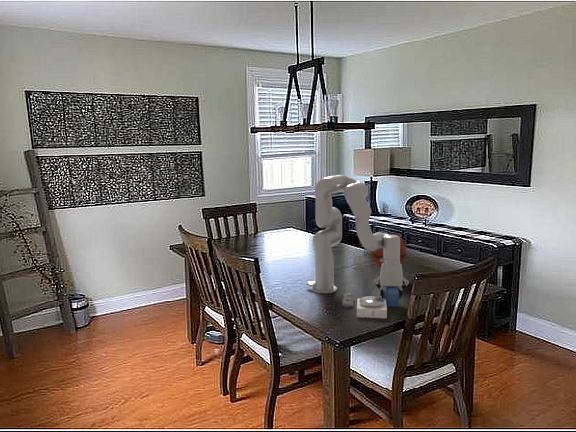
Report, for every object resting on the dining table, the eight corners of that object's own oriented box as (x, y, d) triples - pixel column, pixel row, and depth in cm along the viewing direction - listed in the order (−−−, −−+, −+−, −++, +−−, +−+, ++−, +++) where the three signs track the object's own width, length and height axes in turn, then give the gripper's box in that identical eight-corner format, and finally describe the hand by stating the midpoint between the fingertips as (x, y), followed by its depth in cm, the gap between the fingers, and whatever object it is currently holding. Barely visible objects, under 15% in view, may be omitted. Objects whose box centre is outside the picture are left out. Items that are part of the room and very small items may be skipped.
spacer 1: (343, 302, 226) (343, 296, 226) (343, 298, 231) (343, 292, 231) (353, 302, 225) (353, 296, 225) (353, 299, 230) (353, 293, 230)
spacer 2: (342, 307, 219) (342, 301, 219) (342, 303, 224) (342, 297, 224) (353, 308, 219) (353, 301, 218) (353, 304, 224) (353, 298, 223)
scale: (356, 317, 207) (356, 308, 206) (357, 306, 220) (357, 297, 219) (386, 319, 205) (386, 309, 204) (385, 307, 218) (385, 298, 217)
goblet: (412, 278, 259) (413, 234, 254) (391, 286, 246) (392, 240, 242) (384, 271, 273) (385, 229, 269) (363, 279, 261) (363, 235, 256)
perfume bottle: (395, 301, 225) (396, 277, 223) (399, 306, 219) (399, 281, 217) (382, 302, 225) (383, 278, 223) (385, 307, 219) (386, 282, 217)
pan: (359, 306, 208) (359, 304, 207) (359, 297, 218) (359, 295, 218) (384, 307, 206) (384, 305, 206) (383, 298, 216) (383, 296, 216)
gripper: (372, 263, 216) (372, 299, 219) (411, 264, 213) (410, 301, 216) (372, 258, 223) (372, 294, 226) (410, 259, 220) (409, 295, 224)
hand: (390, 297), depth 221 cm, fingers open, 7 cm apart
